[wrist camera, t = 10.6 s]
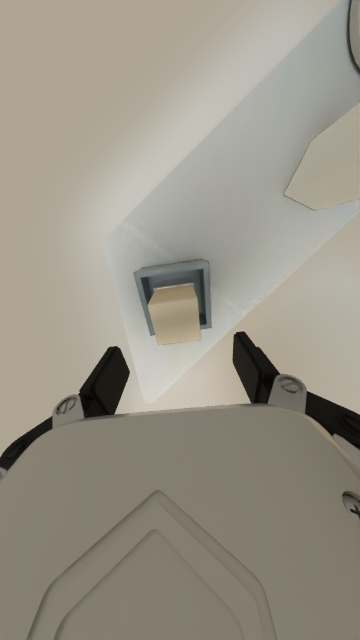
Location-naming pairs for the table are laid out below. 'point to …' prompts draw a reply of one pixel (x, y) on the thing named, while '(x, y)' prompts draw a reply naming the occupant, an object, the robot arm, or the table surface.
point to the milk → (330, 166)
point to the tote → (195, 269)
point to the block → (173, 283)
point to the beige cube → (175, 315)
